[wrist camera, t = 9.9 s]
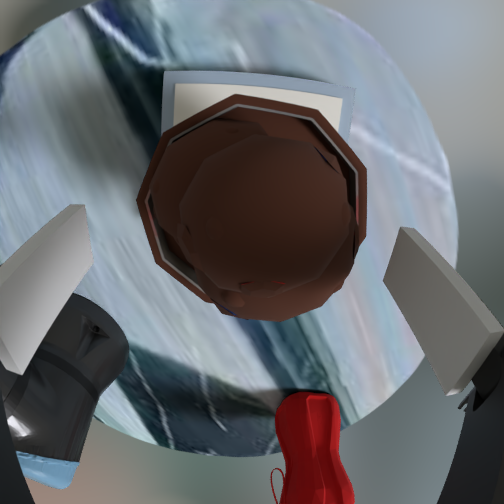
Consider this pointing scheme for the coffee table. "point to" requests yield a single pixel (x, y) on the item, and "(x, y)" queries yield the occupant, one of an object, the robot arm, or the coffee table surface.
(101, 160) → the coffee table surface
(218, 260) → the ice cream bowl
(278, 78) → the base plinth
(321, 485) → the water bottle
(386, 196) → the coffee table surface
